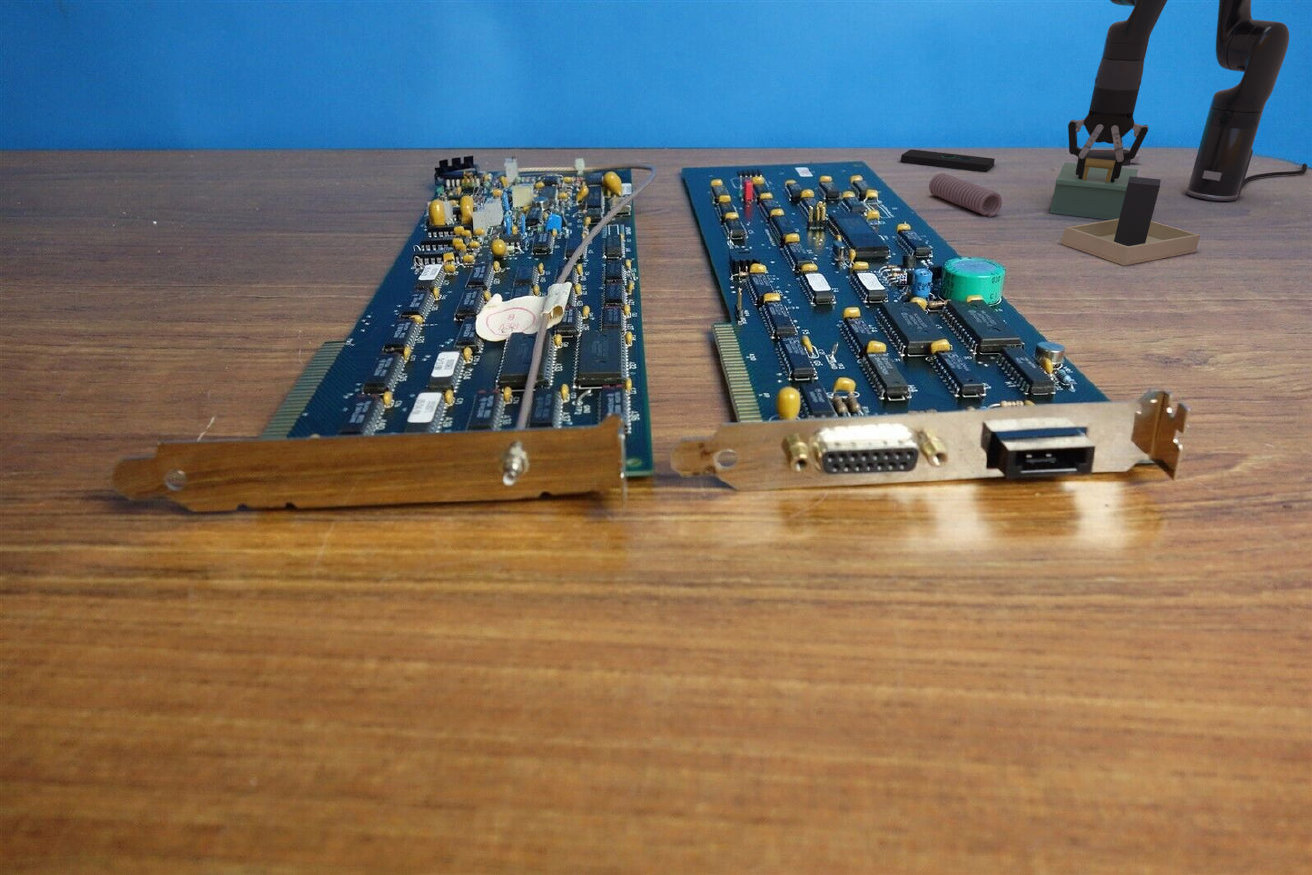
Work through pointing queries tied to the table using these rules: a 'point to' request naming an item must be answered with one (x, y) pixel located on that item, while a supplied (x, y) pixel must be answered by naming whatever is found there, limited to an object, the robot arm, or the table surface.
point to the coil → (965, 194)
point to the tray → (1157, 246)
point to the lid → (1095, 175)
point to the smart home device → (948, 160)
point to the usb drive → (1109, 156)
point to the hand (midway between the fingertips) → (1096, 179)
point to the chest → (1087, 202)
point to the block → (1137, 211)
